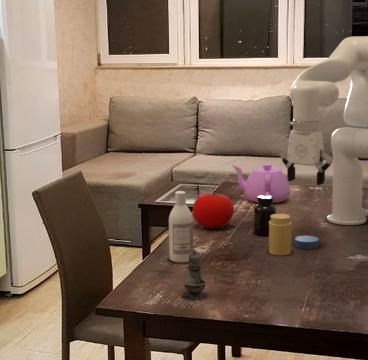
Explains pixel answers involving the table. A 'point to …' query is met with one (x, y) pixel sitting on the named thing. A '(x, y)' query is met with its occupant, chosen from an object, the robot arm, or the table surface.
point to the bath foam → (180, 230)
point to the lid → (306, 242)
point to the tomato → (213, 210)
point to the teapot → (264, 183)
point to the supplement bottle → (263, 215)
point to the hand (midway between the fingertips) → (305, 182)
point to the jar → (280, 234)
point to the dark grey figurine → (194, 278)
